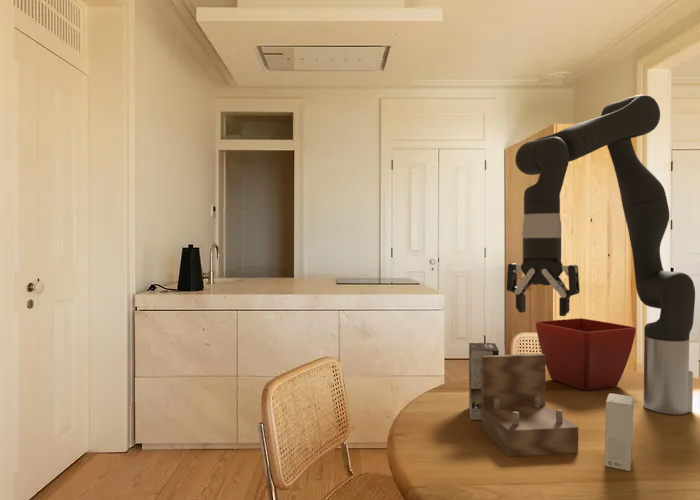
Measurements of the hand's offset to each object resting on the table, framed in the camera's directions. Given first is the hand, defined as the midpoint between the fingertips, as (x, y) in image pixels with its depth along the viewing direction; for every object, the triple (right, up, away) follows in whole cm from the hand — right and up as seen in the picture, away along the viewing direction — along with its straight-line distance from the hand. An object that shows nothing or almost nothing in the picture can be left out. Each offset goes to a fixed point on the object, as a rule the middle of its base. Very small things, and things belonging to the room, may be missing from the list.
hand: (541, 313), depth 106 cm
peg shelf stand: (-4, -26, -2) cm, 26 cm away
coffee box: (-9, -26, +14) cm, 30 cm away
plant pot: (+27, -25, +39) cm, 53 cm away
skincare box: (+10, -26, -12) cm, 30 cm away
